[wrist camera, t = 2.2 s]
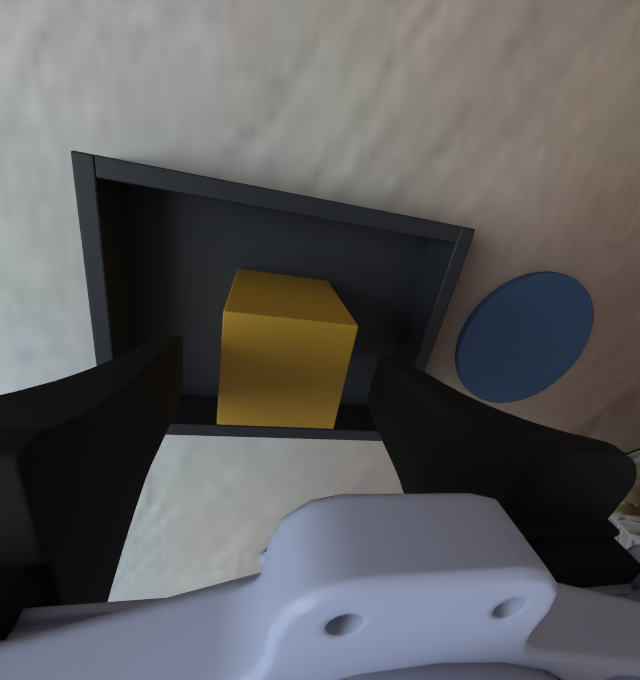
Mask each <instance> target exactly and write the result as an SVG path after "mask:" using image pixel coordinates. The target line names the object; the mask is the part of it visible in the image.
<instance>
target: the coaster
mask: <svg viewBox="0 0 640 680" xmlns="http://www.w3.org/2000/svg"><path fill="white" fill-rule="evenodd" d="M592 322H593V307H592V302H591V299H590V296H589V294H588V292H587V291H586V289H585V288H584V287H583V286H582V285H581V284H580V283H579V282H578V281H576V280H575V279H573V278H571V277H569V276H567V275H563V274H559V273H556V272H536V273H531V274H526V275H523V276H520V277H517V278H515V279H513V280H511V281H509V282H507V283H505V284H504V285H502V286H500V287H499V288H497V289H496V290H495V291H493V292H492V293H491V294H490V295H488V296H487V297H486V298H485V299H484V300H483V301H482V302H481V303H480V304H479V305H478V306H477V308H476V309H475V310H474V311H473V313H472V314H471V315H470V317H469V318H468V320H467V322H466V323H465V325H464V327H463V329H462V331H461V334H460V336H459V339H458V342H457V347H456V355H455V362H456V369H457V373H458V376H459V378H460V380H461V382H462V383H463V385H464V386H465V387H466V388H467V389H468V390H469V391H470V392H471V393H472V394H474V395H475V396H477V397H479V398H481V399H483V400H486V401H490V402H497V403H505V402H513V401H518V400H522V399H525V398H528V397H530V396H532V395H535V394H537V393H539V392H540V391H542V390H544V389H546V388H547V387H549V386H550V385H552V384H553V383H554V382H555V381H557V380H558V379H559V378H560V377H561V376H562V375H563V374H565V373H566V372H567V370H568V369H569V368H570V367H571V366H572V365H573V364H574V362H575V361H576V360H577V358H578V357H579V355H580V354H581V352H582V351H583V349H584V347H585V345H586V343H587V340H588V338H589V335H590V332H591V328H592Z"/></svg>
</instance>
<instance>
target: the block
mask: <svg viewBox="0 0 640 680" xmlns="http://www.w3.org/2000/svg"><path fill="white" fill-rule="evenodd" d="M357 330H358V325H357V324H356V322H355V321H354V319H353V318H352V316H351V315H350V313H349V312H348V310H347V309H346V307H345V306H344V304H343V303H342V301H341V300H340V298H339V297H338V295H337V294H336V292H335V291H334V290H333V288H332V287H331V285H330V284H329V282H328V281H325V280H317V279H310V278H303V277H296V276H289V275H282V274H274V273H267V272H260V271H253V270H246V269H238V270H237V273H236V276H235V279H234V282H233V285H232V288H231V290H230V293H229V296H228V299H227V302H226V305H225V308H224V311H223V324H222V341H221V358H220V375H219V393H218V410H217V424H220V425H247V426H274V427H301V428H328V429H333V428H334V424H335V420H336V416H337V412H338V408H339V403H340V399H341V395H342V391H343V387H344V383H345V379H346V375H347V371H348V367H349V363H350V358H351V354H352V350H353V346H354V342H355V338H356V334H357Z"/></svg>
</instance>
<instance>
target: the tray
mask: <svg viewBox="0 0 640 680" xmlns="http://www.w3.org/2000/svg"><path fill="white" fill-rule="evenodd" d="M71 157H72V165H73V173H74V182H75V190H76V198H77V206H78V215H79V223H80V231H81V240H82V248H83V256H84V264H85V273H86V281H87V289H88V298H89V306H90V314H91V322H92V331H93V339H94V347H95V356H96V364H97V366H98V365H101V364H103V363H105V362H107V361H110V360H112V359H114V358H116V357H119V356H121V355H123V354H125V353H127V352H129V351H131V350H133V349H135V348H137V347H139V346H141V345H143V344H145V343H147V342H149V341H151V340H153V339H155V338H157V337H159V336H162V335H172V336H183V389H182V392H181V396H180V399H179V403H178V406H177V409H176V412H175V414H174V417H173V419H172V421H171V423H170V425H169V428H168V430H167V432H166V434H168V435H201V436H235V437H268V438H302V439H336V440H369V441H382V439H381V436H380V434H379V432H378V430H377V427H376V425H375V423H374V420H373V417H372V414H371V411H370V407H369V403H368V399H367V397H368V394H369V390H370V387H371V383H372V380H373V376H374V373H375V369H376V366H377V362H378V359H379V355H391V356H396V357H398V358H401V359H403V360H405V361H406V362H408V363H410V364H412V365H413V366H415V367H417V368H418V369H420V370H422V371H424V372H425V369H426V366H427V364H428V361H429V358H430V355H431V352H432V350H433V347H434V344H435V341H436V338H437V336H438V333H439V330H440V327H441V324H442V322H443V319H444V316H445V313H446V310H447V308H448V305H449V302H450V299H451V296H452V294H453V291H454V288H455V285H456V282H457V280H458V277H459V274H460V271H461V268H462V266H463V263H464V260H465V257H466V254H467V252H468V249H469V246H470V243H471V240H472V238H473V235H474V232H475V230H474V229H472V228H467V227H462V226H457V225H452V224H447V223H441V222H436V221H431V220H426V219H421V218H416V217H411V216H406V215H400V214H395V213H390V212H385V211H380V210H375V209H370V208H365V207H359V206H354V205H349V204H344V203H339V202H334V201H329V200H324V199H318V198H313V197H308V196H303V195H298V194H293V193H288V192H283V191H278V190H272V189H267V188H262V187H257V186H252V185H247V184H242V183H237V182H231V181H226V180H221V179H216V178H211V177H206V176H201V175H196V174H190V173H185V172H180V171H175V170H170V169H165V168H160V167H155V166H150V165H144V164H139V163H134V162H129V161H124V160H119V159H114V158H109V157H103V156H98V155H93V154H88V153H83V152H78V151H71ZM238 269H246V270H253V271H260V272H267V273H274V274H282V275H289V276H296V277H303V278H310V279H317V280H325V281H328V282H329V284H330V285H331V287H332V288H333V290H334V291H335V292H336V294H337V295H338V297H339V298H340V300H341V301H342V303H343V304H344V306H345V307H346V309H347V310H348V312H349V313H350V315H351V316H352V318H353V319H354V321H355V322H356V324H357V325H358V330H357V334H356V338H355V342H354V346H353V350H352V354H351V358H350V363H349V367H348V371H347V375H346V379H345V383H344V387H343V391H342V395H341V399H340V403H339V408H338V412H337V416H336V420H335V424H334V428H333V429H328V428H301V427H274V426H247V425H220V424H217V410H218V393H219V375H220V358H221V341H222V324H223V311H224V308H225V305H226V302H227V299H228V296H229V293H230V290H231V288H232V285H233V282H234V279H235V276H236V273H237V270H238Z"/></svg>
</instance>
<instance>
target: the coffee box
mask: <svg viewBox="0 0 640 680" xmlns="http://www.w3.org/2000/svg"><path fill="white" fill-rule="evenodd" d="M628 456H629V457H631V458H632V459H633V460H634V462H635V464H636V467H637V478H636V480H635V483H634V486H633V487H632V489H631V490H630V492H629V493H628V495H627V496H626V497H625V499H624V500H623V501H622V502H621V504H620V505H619V506H618V507H617V509H616V510H615V511H614V512H613V514H612V515H611V516H610V517H609V520H610V521H611V522H612V523H613V524H614V525H615V526H616V527H617V528H618V529H619V532H620V534H619V535H618V536H617V537H614V538H615V539H616V540H617V541H618V542H619V543H620V544H621V545H622V546H623V547H624V548H625V549H627V548H629V547H631V546H633V545H637V544H640V450H638V451H635V452H633V453H630V454H628Z"/></svg>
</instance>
